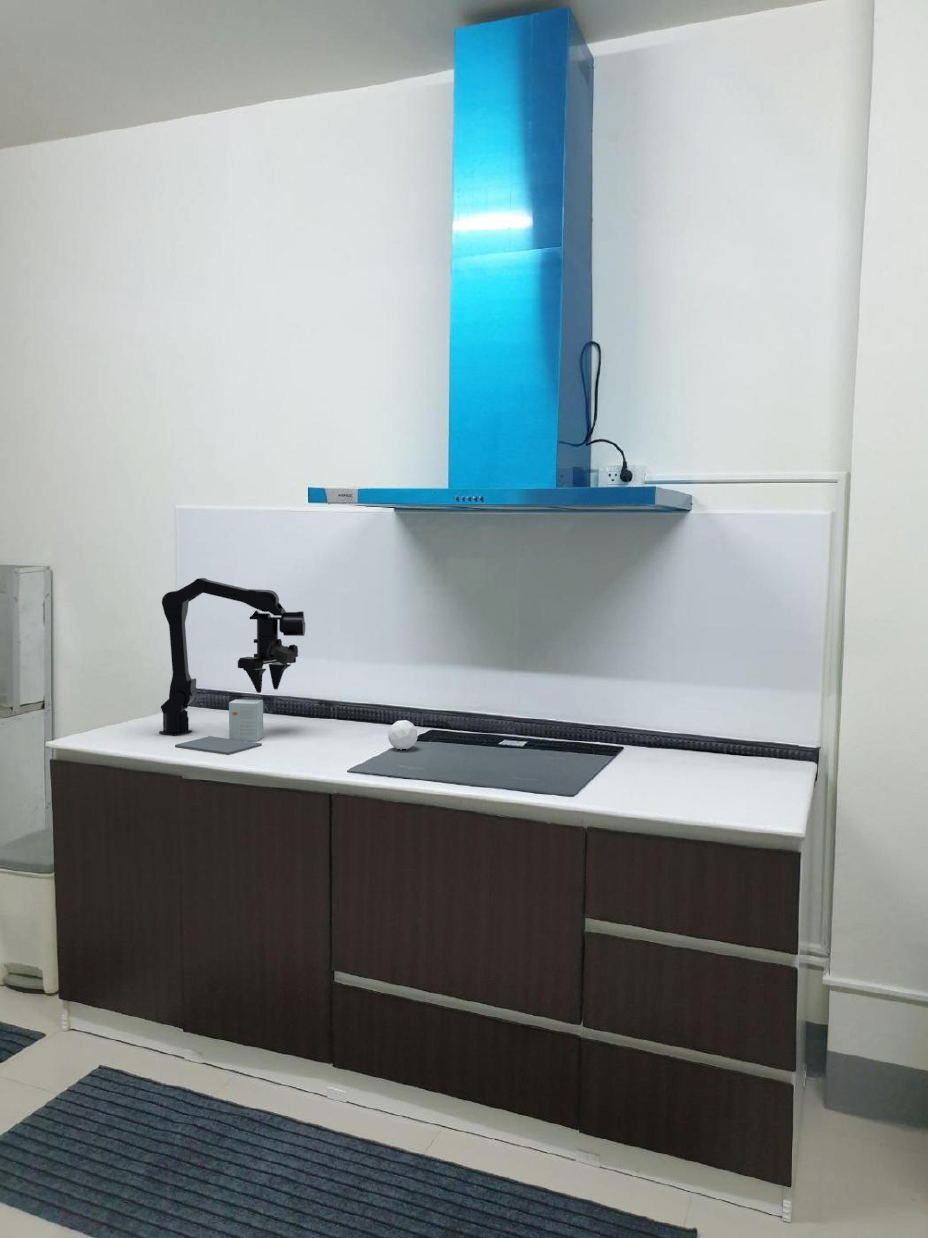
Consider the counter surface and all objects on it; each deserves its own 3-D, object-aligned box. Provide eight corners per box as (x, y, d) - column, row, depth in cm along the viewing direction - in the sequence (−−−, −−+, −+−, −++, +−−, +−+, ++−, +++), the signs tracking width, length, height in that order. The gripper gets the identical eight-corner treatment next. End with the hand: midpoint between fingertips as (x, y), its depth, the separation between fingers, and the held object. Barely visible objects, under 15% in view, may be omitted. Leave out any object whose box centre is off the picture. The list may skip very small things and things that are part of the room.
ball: (410, 758, 252) (428, 735, 251) (391, 753, 246) (410, 729, 245) (395, 740, 257) (413, 717, 256) (376, 734, 250) (395, 711, 249)
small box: (264, 737, 264) (263, 699, 263) (257, 741, 258) (257, 703, 257) (235, 736, 264) (235, 698, 263) (228, 740, 259) (228, 702, 258)
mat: (174, 747, 250) (174, 744, 250) (209, 738, 261) (209, 736, 261) (228, 754, 242) (228, 752, 241) (261, 745, 253) (261, 743, 253)
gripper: (268, 640, 255) (268, 698, 256) (311, 634, 271) (311, 689, 272) (236, 637, 260) (236, 694, 261) (280, 632, 276) (280, 686, 278)
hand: (267, 691), depth 268 cm, fingers open, 7 cm apart
